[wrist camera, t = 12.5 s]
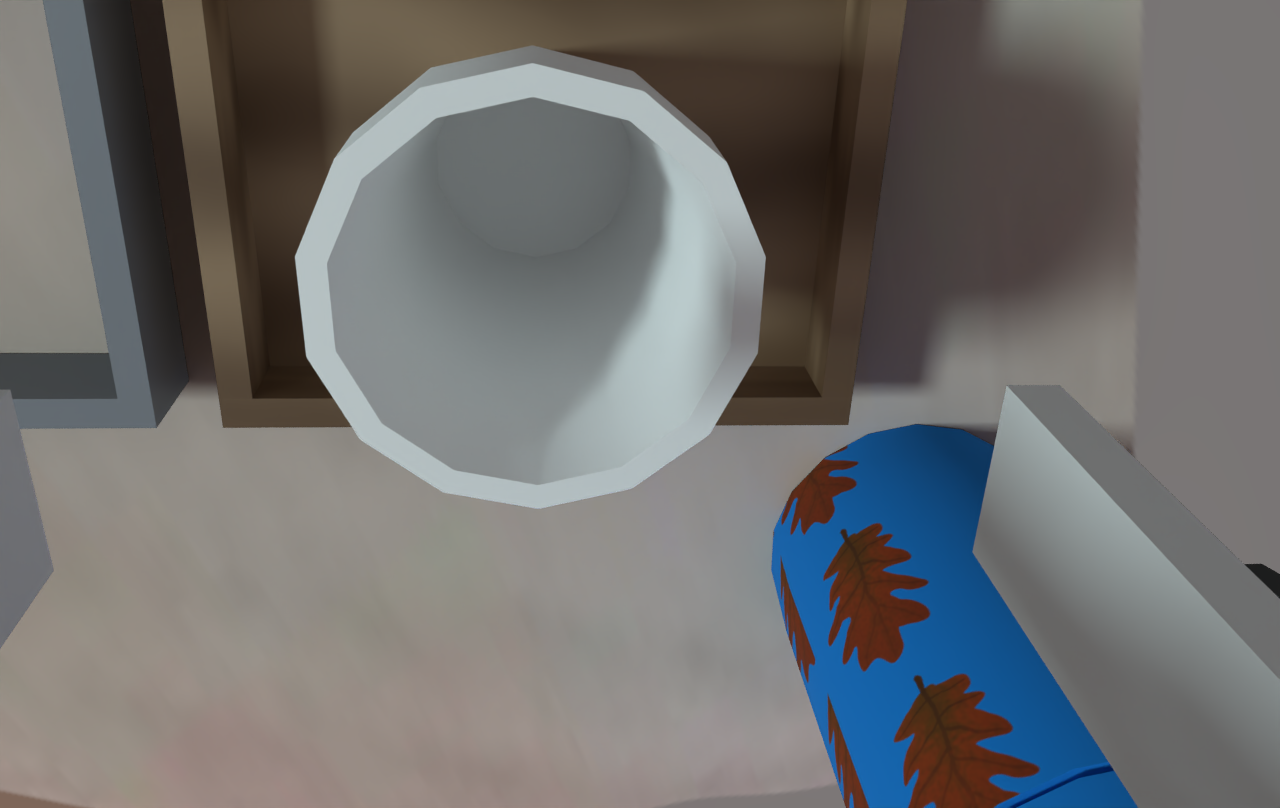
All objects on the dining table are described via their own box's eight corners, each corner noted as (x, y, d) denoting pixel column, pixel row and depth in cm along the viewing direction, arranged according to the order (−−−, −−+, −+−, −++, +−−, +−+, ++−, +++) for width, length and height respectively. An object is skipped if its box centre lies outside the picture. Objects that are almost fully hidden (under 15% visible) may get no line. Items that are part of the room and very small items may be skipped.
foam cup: (728, 229, 35) (826, 404, 23) (473, 346, 36) (445, 569, 24) (606, -61, 31) (650, -24, 19) (321, 79, 32) (200, 194, 20)
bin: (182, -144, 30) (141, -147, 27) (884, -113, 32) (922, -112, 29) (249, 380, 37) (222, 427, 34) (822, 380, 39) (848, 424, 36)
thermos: (1085, 548, 43) (1682, 1268, 21) (869, 695, 46) (1196, 1485, 23) (939, 364, 39) (1489, 1019, 17) (710, 538, 41) (920, 1316, 19)
